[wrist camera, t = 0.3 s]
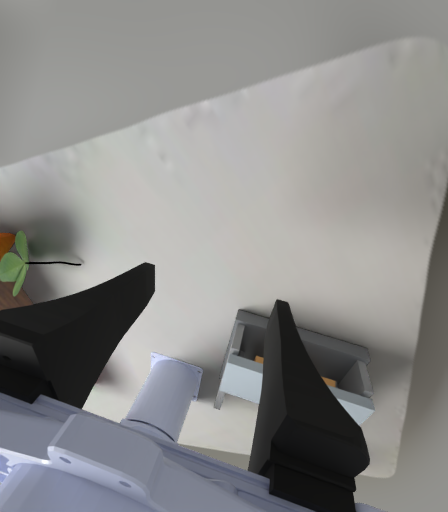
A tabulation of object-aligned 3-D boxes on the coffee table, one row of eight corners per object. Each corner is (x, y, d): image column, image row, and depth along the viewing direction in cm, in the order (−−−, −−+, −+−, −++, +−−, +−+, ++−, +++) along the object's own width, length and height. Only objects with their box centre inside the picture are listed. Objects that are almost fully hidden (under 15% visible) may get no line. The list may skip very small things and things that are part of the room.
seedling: (84, 227, 32) (22, 224, 30) (75, 240, 25) (-7, 238, 23) (86, 278, 34) (28, 280, 32) (78, 303, 27) (2, 309, 24)
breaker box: (321, 406, 33) (325, 447, 29) (220, 372, 34) (211, 406, 30) (367, 348, 26) (380, 391, 22) (238, 309, 27) (229, 343, 23)
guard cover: (347, 424, 25) (349, 435, 24) (221, 381, 26) (219, 390, 26) (372, 399, 22) (375, 410, 21) (229, 353, 24) (227, 362, 23)
